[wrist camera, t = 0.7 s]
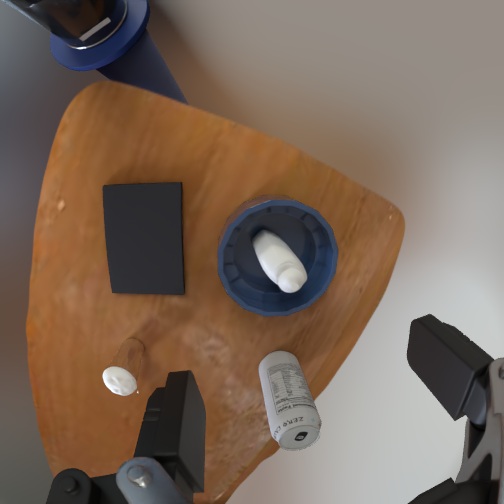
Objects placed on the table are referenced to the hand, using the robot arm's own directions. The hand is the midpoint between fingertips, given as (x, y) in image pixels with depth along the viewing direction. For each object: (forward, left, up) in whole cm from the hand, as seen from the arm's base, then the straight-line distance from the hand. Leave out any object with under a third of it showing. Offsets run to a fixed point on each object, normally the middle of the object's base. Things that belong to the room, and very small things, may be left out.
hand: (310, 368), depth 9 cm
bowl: (+3, +3, -27) cm, 28 cm away
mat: (+2, -13, -27) cm, 30 cm away
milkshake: (+18, -16, -27) cm, 37 cm away
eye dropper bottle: (+3, +3, -27) cm, 28 cm away
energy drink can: (+21, +5, -27) cm, 35 cm away
